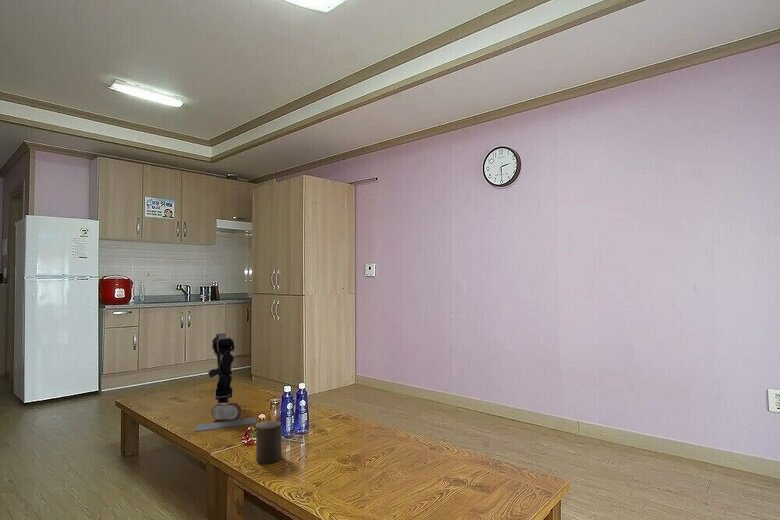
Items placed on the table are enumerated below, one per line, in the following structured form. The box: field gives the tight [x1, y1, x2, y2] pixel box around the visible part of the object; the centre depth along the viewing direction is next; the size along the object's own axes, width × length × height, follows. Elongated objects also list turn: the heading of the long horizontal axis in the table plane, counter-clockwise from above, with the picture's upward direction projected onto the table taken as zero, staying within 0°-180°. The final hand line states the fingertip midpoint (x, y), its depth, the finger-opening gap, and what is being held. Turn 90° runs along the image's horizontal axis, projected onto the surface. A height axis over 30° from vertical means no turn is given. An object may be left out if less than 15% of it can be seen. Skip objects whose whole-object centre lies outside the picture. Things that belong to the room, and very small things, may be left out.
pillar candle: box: [255, 420, 283, 465], centre depth 178 cm, size 10×10×15 cm
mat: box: [194, 416, 257, 432], centre depth 223 cm, size 10×28×1 cm, turn 109°
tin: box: [211, 402, 242, 421], centre depth 230 cm, size 15×3×8 cm, turn 84°
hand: (226, 391), depth 237 cm, fingers open, 5 cm apart
